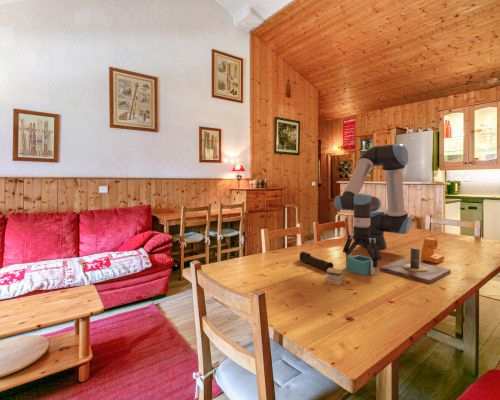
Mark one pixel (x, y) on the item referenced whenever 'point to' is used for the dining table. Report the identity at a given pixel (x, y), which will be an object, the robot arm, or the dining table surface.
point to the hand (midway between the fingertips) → (360, 270)
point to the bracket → (430, 251)
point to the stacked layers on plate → (334, 276)
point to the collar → (359, 264)
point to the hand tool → (315, 261)
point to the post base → (416, 275)
